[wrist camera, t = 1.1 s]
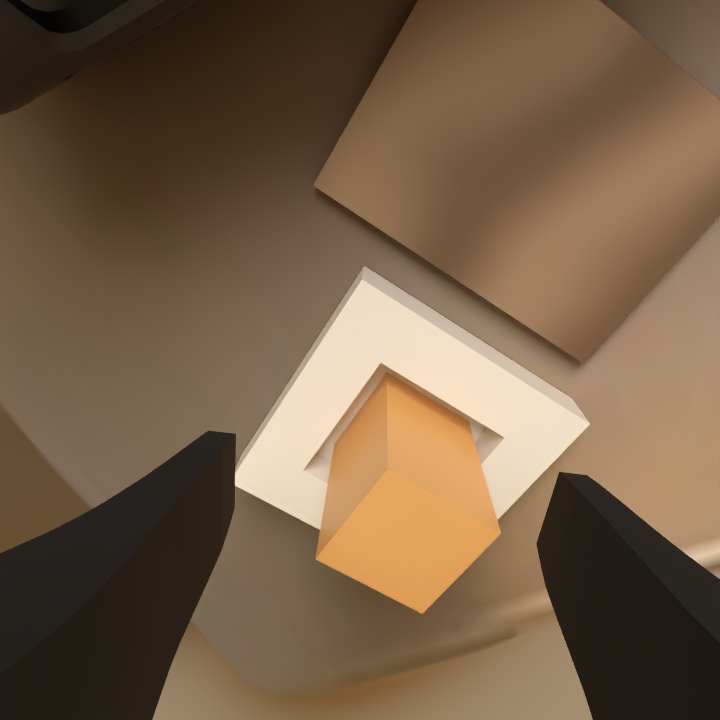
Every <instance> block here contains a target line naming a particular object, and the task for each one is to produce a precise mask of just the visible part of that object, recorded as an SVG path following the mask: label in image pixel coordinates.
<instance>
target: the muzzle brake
mask: <svg viewBox="0 0 720 720" xmlns="http://www.w3.org/2000/svg"><path fill="white" fill-rule="evenodd" d="M198 1H200V0H0V114H5V113H8V112H11V111H14V110H16V109H19V108H21V107H23V106H24V105H26V104H28V103H29V102H31V101H33V100H34V99H36V98H38V97H39V96H41V95H43V94H44V93H46V92H48V91H49V90H51V89H53V88H54V87H56V86H58V85H60V84H61V83H63V82H65V81H66V80H68V79H69V78H70V77H71V76H72V75H74V74H75V73H76V72H77V71H79V70H80V69H81V68H83V67H85V66H87V65H89V64H91V63H92V62H94V61H95V60H96V59H98V58H99V57H101V56H102V55H104V54H106V53H107V52H109V51H111V50H113V49H115V48H117V47H119V46H121V45H124V44H126V43H130V42H132V41H133V40H135V39H137V38H138V37H140V36H142V35H143V34H145V33H147V32H148V31H150V30H152V29H153V28H155V27H157V26H158V25H160V24H162V23H163V22H165V21H167V20H168V19H170V18H172V17H173V16H175V15H177V14H178V13H180V12H182V11H183V10H185V9H187V8H188V7H190V6H192V5H193V4H195V3H197V2H198Z"/></svg>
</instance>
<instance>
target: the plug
mask: <svg viewBox="0 0 720 720" xmlns="http://www.w3.org/2000/svg"><path fill="white" fill-rule="evenodd" d="M500 534H501V531H500V528H499V524H498V521H497V517H496V514H495V510H494V507H493V504H492V500H491V497H490V493H489V490H488V486H487V483H486V479H485V476H484V473H483V469H482V466H481V462H480V459H479V455H478V452H477V448H476V445H475V442H474V438H473V435H472V431H471V428H470V424H469V421H467V420H465V419H464V418H462V417H461V416H459V415H457V414H456V413H454V412H452V411H451V410H449V409H447V408H446V407H444V406H442V405H441V404H439V403H437V402H436V401H434V400H432V399H431V398H429V397H427V396H426V395H424V394H422V393H421V392H419V391H417V390H416V389H414V388H412V387H411V386H409V385H407V384H406V383H404V382H402V381H401V380H399V379H397V378H396V377H394V376H392V375H391V374H389V373H386V374H385V375H384V377H383V378H382V380H381V381H380V382H379V384H378V385H377V386H376V388H375V389H374V390H373V392H372V393H371V395H370V396H369V397H368V399H367V400H366V401H365V403H364V404H363V405H362V407H361V408H360V410H359V411H358V412H357V414H356V415H355V416H354V418H353V419H352V421H351V422H350V423H349V425H348V426H347V427H346V429H345V430H344V431H343V433H342V434H341V436H340V437H339V438H338V440H337V441H336V442H335V444H334V449H333V455H332V462H331V468H330V474H329V480H328V486H327V492H326V498H325V504H324V510H323V516H322V522H321V528H320V534H319V540H318V546H317V552H316V558H315V559H316V560H318V561H320V562H322V563H324V564H326V565H328V566H330V567H332V568H334V569H336V570H338V571H339V572H341V573H343V574H345V575H347V576H349V577H351V578H353V579H355V580H357V581H359V582H361V583H363V584H365V585H367V586H369V587H371V588H373V589H375V590H377V591H379V592H381V593H383V594H385V595H386V596H388V597H390V598H392V599H394V600H396V601H398V602H400V603H402V604H404V605H406V606H408V607H410V608H412V609H414V610H416V611H418V612H420V613H422V614H423V613H424V612H425V611H426V610H427V609H428V608H429V607H430V605H431V604H432V603H433V602H434V601H435V600H436V599H437V598H438V597H439V596H440V595H441V594H442V593H443V592H444V591H445V590H446V589H447V588H448V587H449V586H450V585H451V584H452V583H453V582H454V581H455V580H456V579H457V578H458V577H459V576H460V575H461V574H462V573H463V572H464V571H465V570H466V569H467V568H468V567H469V566H470V565H471V564H472V563H473V562H474V561H475V560H476V559H477V558H478V557H479V556H480V554H481V553H482V552H483V551H484V550H485V549H486V548H487V547H488V546H489V545H490V544H491V543H492V542H493V541H494V540H495V539H496V538H497V537H498V536H499V535H500Z"/></svg>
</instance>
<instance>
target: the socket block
mask: <svg viewBox="0 0 720 720" xmlns="http://www.w3.org/2000/svg"><path fill="white" fill-rule="evenodd" d="M386 373H389V374H391V375H392V376H394V377H396V378H397V379H399V380H401V381H402V382H404V383H406V384H407V385H409V386H411V387H412V388H414V389H416V390H417V391H419V392H421V393H422V394H424V395H426V396H427V397H429V398H431V399H432V400H434V401H436V402H437V403H439V404H441V405H442V406H444V407H446V408H447V409H449V410H451V411H452V412H454V413H456V414H457V415H459V416H461V417H462V418H464V419H465V420H467V421H469V424H470V428H471V431H472V435H473V438H474V442H475V445H476V448H477V452H478V455H479V459H480V462H481V466H482V469H483V473H484V476H485V479H486V483H487V486H488V490H489V493H490V497H491V500H492V504H493V507H494V510H495V514H496V517H497V520H498V519H499V518H500V517H501V516H502V515H503V514H504V513H505V512H506V511H507V510H508V509H509V508H510V507H511V506H512V504H513V503H514V502H515V501H516V500H517V499H518V498H519V497H520V496H521V495H522V494H523V493H524V492H525V491H526V490H527V489H528V488H529V487H530V486H531V485H532V484H533V483H534V482H535V481H536V480H537V479H538V477H539V476H540V475H541V474H542V473H543V472H544V471H545V470H546V469H547V468H548V467H549V466H550V465H551V464H552V463H553V462H554V461H555V460H556V459H557V458H558V457H559V456H560V455H561V454H562V453H563V451H564V450H565V449H566V448H567V447H568V446H569V445H570V444H571V443H572V442H573V441H574V440H575V439H576V438H577V437H578V436H579V435H580V434H581V433H582V432H583V431H584V430H585V429H586V428H587V427H588V426H589V424H590V423H589V422H588V421H587V419H586V418H585V416H584V415H583V414H582V412H581V411H580V409H579V408H578V406H577V405H576V404H575V402H574V401H573V399H572V398H570V397H568V396H567V395H565V394H564V393H562V392H561V391H559V390H558V389H556V388H554V387H553V386H551V385H550V384H548V383H547V382H545V381H543V380H542V379H540V378H539V377H537V376H536V375H534V374H533V373H531V372H529V371H528V370H526V369H525V368H523V367H522V366H520V365H518V364H517V363H515V362H514V361H512V360H511V359H509V358H508V357H506V356H504V355H503V354H501V353H500V352H498V351H497V350H495V349H493V348H492V347H490V346H489V345H487V344H486V343H484V342H483V341H481V340H479V339H478V338H476V337H475V336H473V335H472V334H470V333H468V332H467V331H465V330H464V329H462V328H461V327H459V326H458V325H456V324H454V323H453V322H451V321H450V320H448V319H447V318H445V317H444V316H442V315H440V314H439V313H437V312H436V311H434V310H433V309H431V308H429V307H428V306H426V305H425V304H423V303H422V302H420V301H419V300H417V299H415V298H414V297H412V296H411V295H409V294H408V293H406V292H404V291H403V290H401V289H400V288H398V287H397V286H395V285H394V284H392V283H390V282H389V281H387V280H386V279H384V278H383V277H381V276H379V275H378V274H376V273H375V272H373V271H372V270H370V269H369V268H367V267H365V266H364V267H363V268H362V270H361V271H360V273H359V274H358V276H357V278H356V279H355V281H354V282H353V284H352V285H351V287H350V288H349V290H348V291H347V293H346V295H345V296H344V298H343V299H342V301H341V302H340V304H339V305H338V307H337V308H336V310H335V312H334V313H333V315H332V316H331V318H330V319H329V321H328V322H327V324H326V325H325V327H324V328H323V330H322V332H321V333H320V335H319V336H318V338H317V339H316V341H315V342H314V344H313V345H312V347H311V349H310V350H309V352H308V353H307V355H306V356H305V358H304V359H303V361H302V362H301V364H300V365H299V367H298V369H297V370H296V372H295V373H294V375H293V376H292V378H291V379H290V381H289V382H288V384H287V386H286V387H285V389H284V390H283V392H282V393H281V395H280V396H279V398H278V399H277V401H276V402H275V404H274V406H273V407H272V409H271V410H270V412H269V413H268V415H267V416H266V418H265V419H264V421H263V423H262V424H261V426H260V427H259V429H258V430H257V432H256V433H255V435H254V436H253V438H252V440H251V441H250V443H249V444H248V446H247V447H246V449H245V450H244V452H243V453H242V455H241V457H240V460H239V462H238V464H237V466H236V468H235V486H237V487H239V488H241V489H243V490H245V491H246V492H248V493H250V494H252V495H254V496H256V497H258V498H260V499H262V500H264V501H266V502H268V503H269V504H271V505H273V506H275V507H277V508H279V509H281V510H283V511H285V512H287V513H289V514H290V515H292V516H294V517H296V518H298V519H300V520H302V521H304V522H306V523H308V524H310V525H311V526H313V527H315V528H317V529H319V530H320V528H321V522H322V516H323V510H324V504H325V498H326V492H327V486H328V480H329V474H330V468H331V462H332V455H333V449H334V444H335V442H336V441H337V440H338V438H339V437H340V436H341V434H342V433H343V431H344V430H345V429H346V427H347V426H348V425H349V423H350V422H351V421H352V419H353V418H354V416H355V415H356V414H357V412H358V411H359V410H360V408H361V407H362V405H363V404H364V403H365V401H366V400H367V399H368V397H369V396H370V395H371V393H372V392H373V390H374V389H375V388H376V386H377V385H378V384H379V382H380V381H381V380H382V378H383V377H384V375H385V374H386Z"/></svg>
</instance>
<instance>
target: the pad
mask: <svg viewBox="0 0 720 720" xmlns="http://www.w3.org/2000/svg"><path fill="white" fill-rule="evenodd" d="M313 186H315V187H316V188H318V189H319V190H321V191H322V192H324V193H325V194H327V195H328V196H330V197H331V198H333V199H334V200H336V201H337V202H339V203H340V204H342V205H343V206H345V207H346V208H348V209H349V210H351V211H352V212H354V213H355V214H357V215H359V216H360V217H362V218H363V219H365V220H366V221H368V222H369V223H371V224H372V225H374V226H375V227H377V228H378V229H380V230H381V231H383V232H384V233H386V234H387V235H389V236H390V237H392V238H393V239H395V240H396V241H398V242H399V243H401V244H402V245H404V246H406V247H407V248H409V249H410V250H412V251H413V252H415V253H416V254H418V255H419V256H421V257H422V258H424V259H425V260H427V261H428V262H430V263H431V264H433V265H434V266H436V267H437V268H439V269H440V270H442V271H443V272H445V273H446V274H448V275H449V276H451V277H453V278H454V279H456V280H457V281H459V282H460V283H462V284H463V285H465V286H466V287H468V288H469V289H471V290H472V291H474V292H475V293H477V294H478V295H480V296H481V297H483V298H484V299H486V300H487V301H489V302H490V303H492V304H493V305H495V306H497V307H498V308H500V309H501V310H503V311H504V312H506V313H507V314H509V315H510V316H512V317H513V318H515V319H516V320H518V321H519V322H521V323H522V324H524V325H525V326H527V327H528V328H530V329H531V330H533V331H534V332H536V333H537V334H539V335H540V336H542V337H544V338H545V339H547V340H548V341H550V342H551V343H553V344H554V345H556V346H557V347H559V348H560V349H562V350H563V351H565V352H566V353H568V354H569V355H571V356H572V357H574V358H575V359H577V360H578V361H580V362H581V363H583V364H584V363H585V362H586V361H587V360H588V359H589V358H590V357H591V356H592V355H593V354H594V352H595V351H596V350H597V349H598V348H599V347H600V346H601V345H602V344H603V342H604V341H605V340H606V339H607V338H608V337H609V336H610V335H611V334H612V333H613V331H614V330H615V329H616V328H617V327H618V326H619V325H620V324H621V323H622V321H623V320H624V319H625V318H626V317H627V316H628V315H629V314H630V313H631V312H632V310H633V309H634V308H635V307H636V306H637V305H638V304H639V303H640V302H641V300H642V299H643V298H644V297H645V296H646V295H647V294H648V293H649V292H650V291H651V289H652V288H653V287H654V286H655V285H656V284H657V283H658V282H659V281H660V279H661V278H662V277H663V276H664V275H665V274H666V273H667V272H668V271H669V270H670V268H671V267H672V266H673V265H674V264H675V263H676V262H677V261H678V260H679V258H680V257H681V256H682V255H683V254H684V253H685V252H686V251H687V250H688V249H689V247H690V246H691V245H692V244H693V243H694V242H695V241H696V240H697V239H698V237H699V236H700V235H701V234H702V233H703V232H704V231H705V230H706V229H707V228H708V226H709V225H710V224H711V223H712V222H713V221H714V220H715V219H716V218H717V216H718V215H719V214H720V100H719V99H718V98H717V97H716V96H714V95H713V94H712V93H711V92H710V91H708V90H707V89H706V88H705V87H704V86H702V85H701V84H700V83H699V82H698V81H696V80H695V79H694V78H693V77H692V76H690V75H689V74H688V73H687V72H686V71H684V70H683V69H682V68H681V67H679V66H678V65H677V64H676V63H675V62H673V61H672V60H671V59H670V58H669V57H667V56H666V55H665V54H664V53H663V52H661V51H660V50H659V49H658V48H657V47H655V46H654V45H653V44H652V43H650V42H649V41H648V40H647V39H646V38H644V37H643V36H642V35H641V34H640V33H638V32H637V31H636V30H635V29H634V28H632V27H631V26H630V25H629V24H628V23H626V22H625V21H624V20H623V19H622V18H620V17H619V16H618V15H617V14H615V13H614V12H613V11H612V10H611V9H609V8H608V7H607V6H606V5H605V4H603V3H602V2H601V1H600V0H418V1H417V3H416V5H415V7H414V8H413V10H412V12H411V14H410V15H409V17H408V19H407V21H406V22H405V24H404V26H403V28H402V29H401V31H400V33H399V35H398V36H397V38H396V40H395V42H394V43H393V45H392V47H391V49H390V51H389V52H388V54H387V56H386V58H385V59H384V61H383V63H382V65H381V66H380V68H379V70H378V72H377V73H376V75H375V77H374V79H373V80H372V82H371V84H370V86H369V88H368V89H367V91H366V93H365V95H364V96H363V98H362V100H361V102H360V103H359V105H358V107H357V109H356V110H355V112H354V114H353V116H352V117H351V119H350V121H349V123H348V124H347V126H346V128H345V130H344V132H343V133H342V135H341V137H340V139H339V140H338V142H337V144H336V146H335V147H334V149H333V151H332V153H331V154H330V156H329V158H328V160H327V161H326V163H325V165H324V167H323V169H322V170H321V172H320V174H319V176H318V177H317V179H316V181H315V183H314V184H313Z"/></svg>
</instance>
